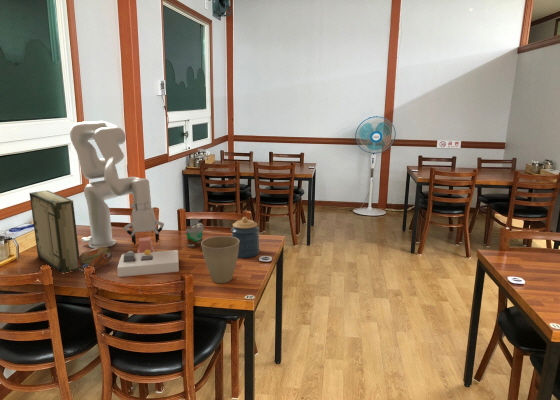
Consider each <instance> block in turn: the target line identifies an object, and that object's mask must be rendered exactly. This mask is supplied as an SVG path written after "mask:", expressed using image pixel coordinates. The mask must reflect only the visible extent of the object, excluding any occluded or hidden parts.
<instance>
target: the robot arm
mask: <svg viewBox="0 0 560 400" xmlns="http://www.w3.org/2000/svg"><path fill="white" fill-rule="evenodd" d="M69 131H70V132H69V137H70V141H71V143H72V146H73V147H74V150H75V152H76V155H77V158H78V162H79V165H80V169H81V172H82V176H83V177H84V178H85V179H86V180H96V181H91V182H90V183H87V184H86V185H85V187H84V189H83V194H84V198H85V200H86V204H87V209H88V218H89V219H88V220H89V229H90V236H87V237H82V238H81V242H83V243H88V247H89V248H91V249H95V248H98V247H108V248H109V247H112V246H114V245H116V243H117V240H116V239H113V233H112V224H111V223H112V222H111V213H110V208H109V205H108V204H107V203H106V201H107V200H111V199H115V198H117V197H123V196H127V195H131V194H132V202H133V203H132V204H130V205H129V207H130V208H131V209H132V210H131V222H130V223H128V224H126V225H124V227H123V228H124V230H125V231H126V233H127V234H128V235H129V236H130V237H131V243H133V245H134V246H135V245H136V244H137V240H136V233H147V232H154V233H155V243H157V244H158V242H159V240H160V236H159V235H160V233H161V231H162V230H163V228H164V225H165V223H164V222H162V221H159V220H157V219H156V215H155V211H154V208H153V207H152V201H151V198H152V197H151V189H150V188H151V187H150V181H149V179H148V178H143V177H142V178H140V177H137V176H128V177H121V178H119V173H118V170H117V166H116V165H117V164H119V163H120V162H121V161H123V159H124V157H125V154H124V152H123V150H122V149H121V147H120V145H123V144H124V143H125V142H126V138H127V137H126V133H125V132H124V130H123V128H121V127H119V126H118V125H115V124H113V123H110V122H107V121H104V120H98V121H82V122H81V121H80V122H76V123H74V124H73V125H72V126H71V127H70V130H69ZM90 140H92V141H93V140H94V141H95V143H96V145H97V147H98V149H99V152H100V153H101V155H102V157H100V158H99V156H98V152H97V150H96V148H95V146H94V145H93V144H92V143H91V142H89V141H90ZM102 178H103V180H97V179H102ZM157 225H159V226H160V227H158V228H157ZM129 228H132V230H130V229H129Z"/></svg>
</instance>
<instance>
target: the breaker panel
mask: <svg viewBox="0 0 560 400" xmlns="http://www.w3.org/2000/svg"><path fill="white" fill-rule="evenodd" d="M132 252H134V251H133V250H129V251H127V253H132ZM124 254H125V253H123V254H121V256H120V259H119V262H118V265H117V276H118V277H121V278H122V277H132V276H141V275H142V276H143V275H153V274H154V275H155V274H156V275H157V274H165V273H177V272H179V271H180V269H179V268H180V266H179V265H180V264H179V250H178V249H174V250H163V251H162V250H160V251H154V252H150V250H145V253H137V252H135V261H134V262H124ZM148 255H152V260H146V261H142V256H148Z"/></svg>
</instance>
